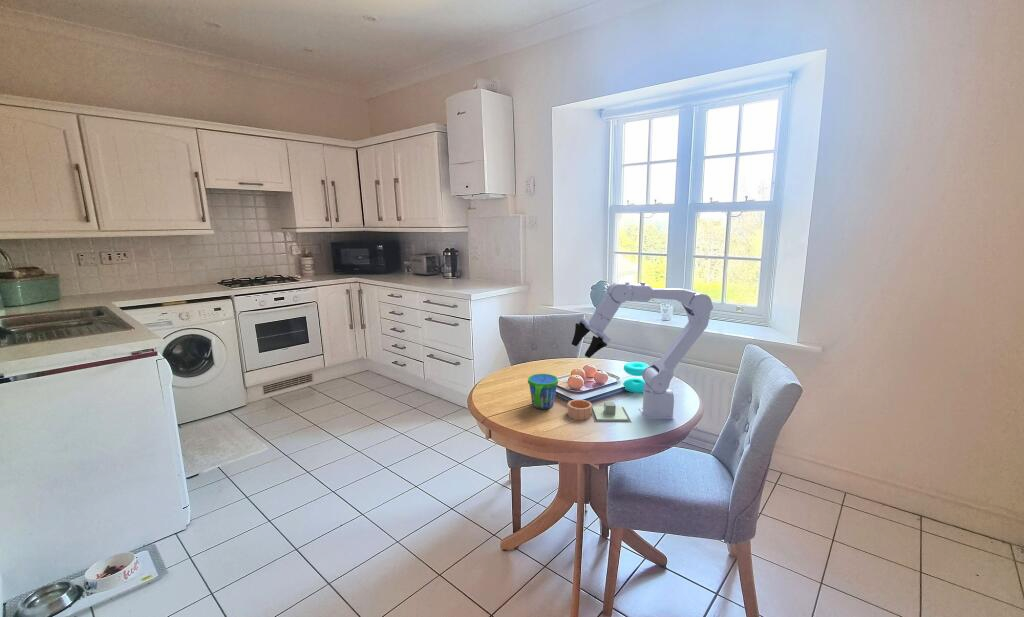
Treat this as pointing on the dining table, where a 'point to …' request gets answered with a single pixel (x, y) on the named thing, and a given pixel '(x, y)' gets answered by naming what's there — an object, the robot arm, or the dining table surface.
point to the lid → (609, 412)
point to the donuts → (635, 370)
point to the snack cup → (543, 390)
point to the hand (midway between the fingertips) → (580, 350)
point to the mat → (611, 421)
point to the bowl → (579, 409)
